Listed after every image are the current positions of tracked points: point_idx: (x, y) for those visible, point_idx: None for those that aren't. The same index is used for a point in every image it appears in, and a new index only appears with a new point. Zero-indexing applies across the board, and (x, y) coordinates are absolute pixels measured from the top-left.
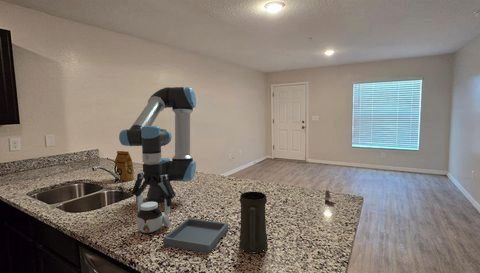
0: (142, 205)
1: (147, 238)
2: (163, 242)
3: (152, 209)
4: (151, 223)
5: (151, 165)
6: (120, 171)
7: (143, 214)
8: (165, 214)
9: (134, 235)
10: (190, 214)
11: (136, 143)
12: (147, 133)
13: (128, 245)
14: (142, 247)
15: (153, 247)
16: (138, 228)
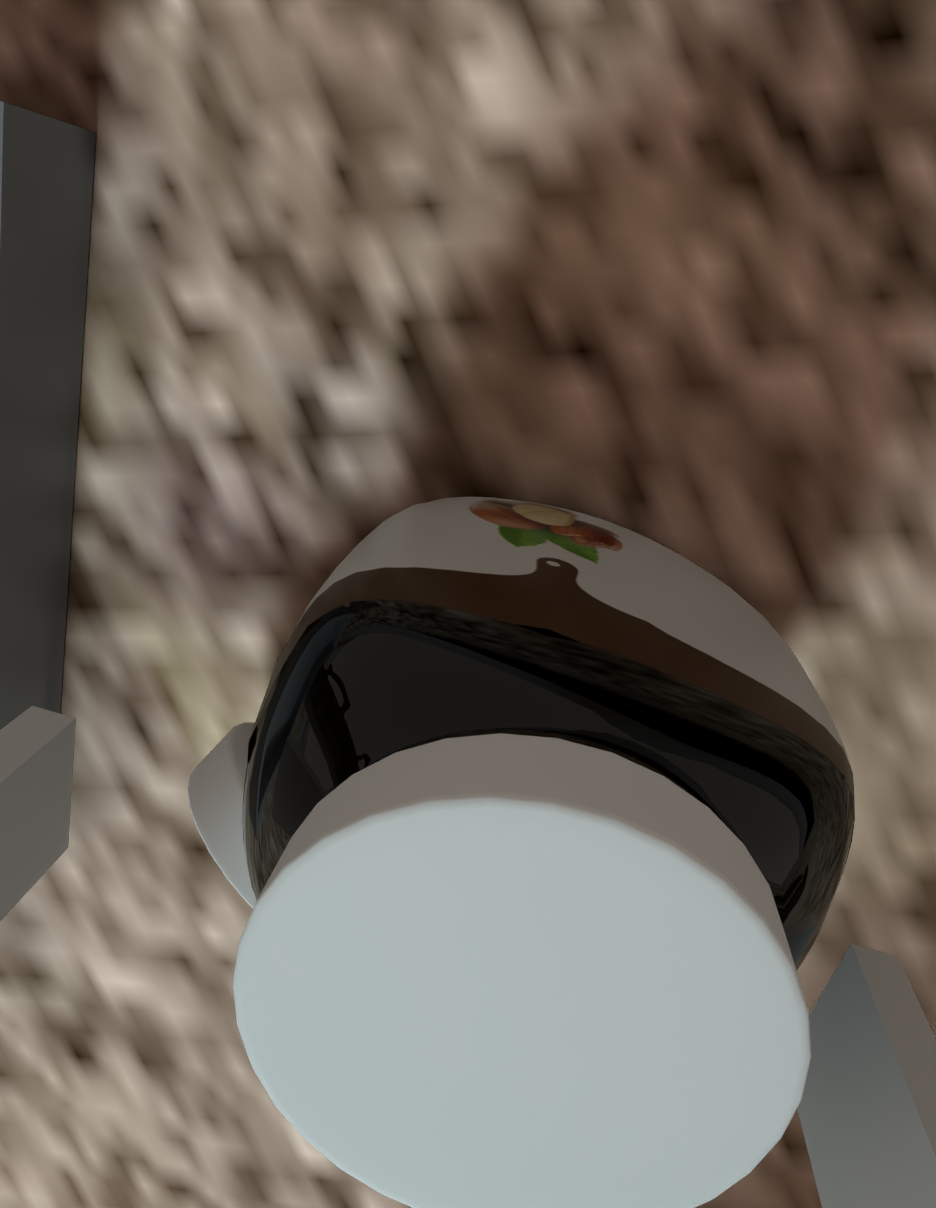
0: (717, 974)
1: (486, 379)
2: (60, 121)
3: (329, 797)
4: (399, 538)
5: None
6: None
7: (602, 667)
8: (55, 718)
9: (773, 482)
10: (168, 1107)
11: None
12: None
13: (743, 78)
14: (434, 23)
15: (235, 45)
16: (740, 597)
